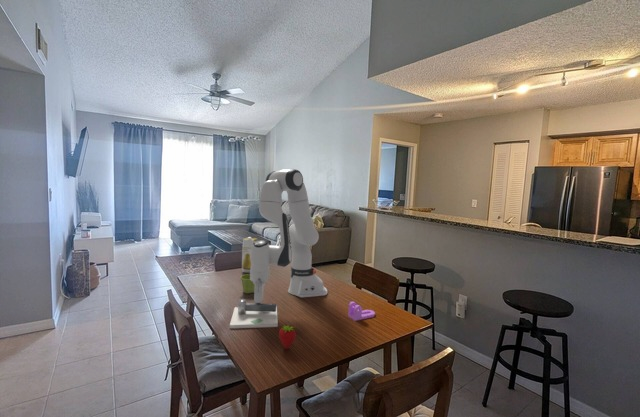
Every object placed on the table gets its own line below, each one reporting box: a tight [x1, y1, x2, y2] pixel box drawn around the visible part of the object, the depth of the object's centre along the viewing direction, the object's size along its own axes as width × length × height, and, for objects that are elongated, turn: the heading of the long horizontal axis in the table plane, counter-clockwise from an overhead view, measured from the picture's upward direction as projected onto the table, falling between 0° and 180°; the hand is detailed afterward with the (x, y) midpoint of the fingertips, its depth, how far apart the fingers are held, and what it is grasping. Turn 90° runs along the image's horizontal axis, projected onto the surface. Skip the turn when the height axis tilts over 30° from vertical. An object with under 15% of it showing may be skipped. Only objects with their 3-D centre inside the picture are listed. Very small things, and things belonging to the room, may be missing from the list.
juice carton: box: [241, 236, 259, 274], centre depth 203 cm, size 9×8×24 cm
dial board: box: [229, 305, 279, 329], centre depth 136 cm, size 20×18×2 cm
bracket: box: [347, 301, 376, 322], centre depth 143 cm, size 13×6×7 cm, turn 119°
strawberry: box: [278, 322, 297, 350], centre depth 113 cm, size 6×8×10 cm
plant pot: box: [240, 273, 255, 294], centre depth 168 cm, size 9×9×9 cm
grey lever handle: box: [237, 298, 277, 314], centre depth 137 cm, size 17×4×6 cm, turn 93°
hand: (258, 304), depth 142 cm, fingers open, 5 cm apart
